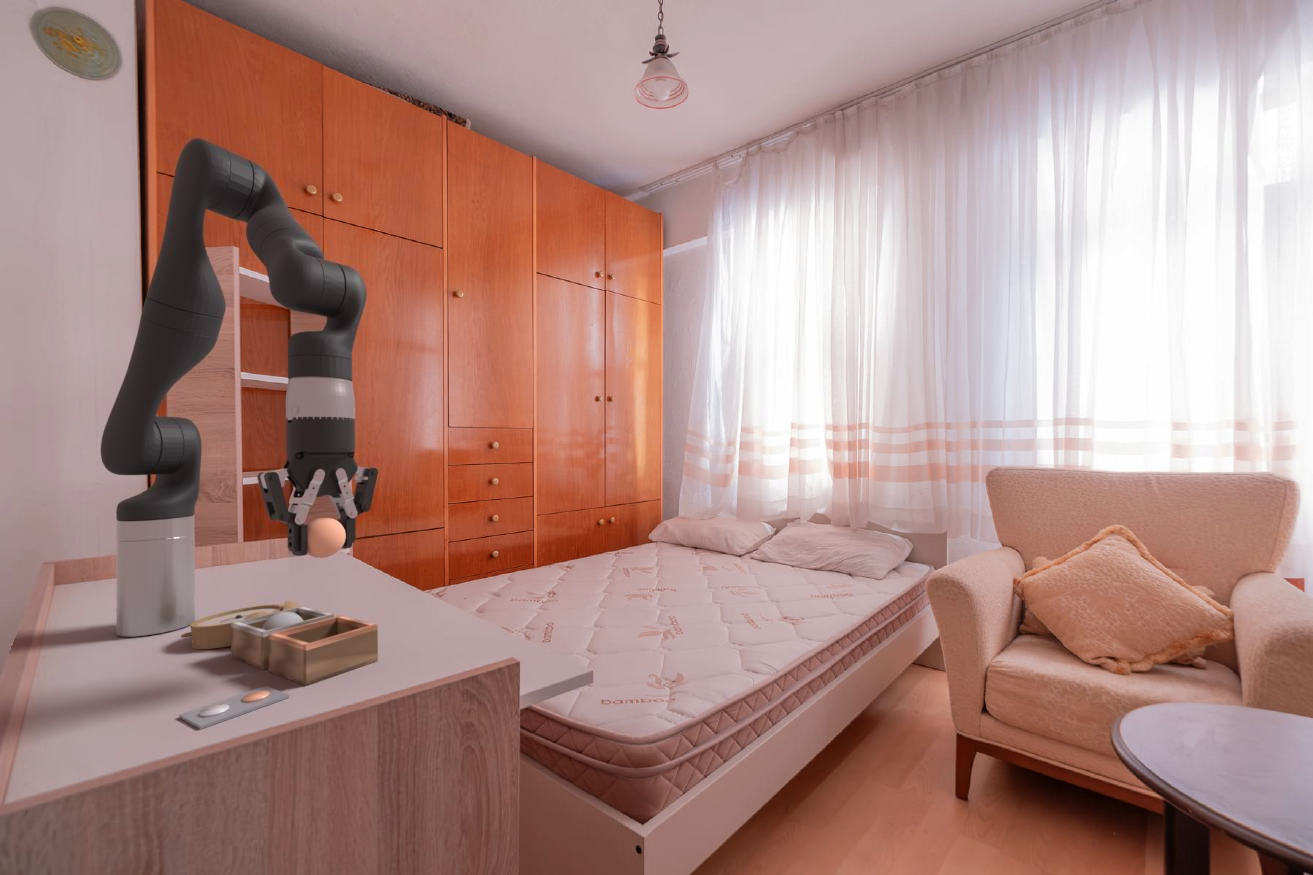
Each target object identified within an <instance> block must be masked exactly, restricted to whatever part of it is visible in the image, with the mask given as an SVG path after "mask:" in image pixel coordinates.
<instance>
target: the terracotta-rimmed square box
mask: <svg viewBox="0 0 1313 875" xmlns="http://www.w3.org/2000/svg"><path fill="white" fill-rule="evenodd" d="M378 632H379V630H378V624H377V623H372V622H368V621H363V620H360V619H356V618H352V617H346V616H342V615H336V616H334V617H332V618H328V619H324V620H321V621H317V622H313V623H309V624H305V625H301V626H297V627H294V628H290V629H286V630H282V631H278V632H274V633H271V634H269V668H268V672H269V673H272V674H274V675H277V676H279V677H282V678H285V679H288V680H290V681H293V682H295V683H298V684H301V685H303V686H305V687H307V686H310V685H312V684H315V683H319V682H322V681H324V680H327V679H330V678H332V677H336V676H338V675H339V676H340V675H341V674H344V673H347V672H350V671H353V670H356V669H358V668H361V666H362V667H364V666H367V665H371V664H373V663H375V662H374V661H376V662H378V661H379V654H378V652H379V648H378V647H379V645H378V642H379V641H378Z"/></svg>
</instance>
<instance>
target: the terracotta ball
mask: <svg viewBox="0 0 1313 875" xmlns="http://www.w3.org/2000/svg"><path fill="white" fill-rule="evenodd" d="M306 525H307V554H306V555H309V556H311V557H312V558H313V557H314V558H317V559H319V558H320V559H322V558H323V559H324V558H328V557H331V556H334V555H335V554H336V553H338V552H339V551H340V550H341V549H343V548H342V546H343V545H344V542H345V539H346V533H345V529H344V527H343V526H342V525H341V523H339V522H338V521H337V520H336V519H334V518H332V517H326V516H325V517H317V518H315V519H313V520H311V521H309V522H308V523H306Z"/></svg>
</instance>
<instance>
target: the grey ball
mask: <svg viewBox="0 0 1313 875" xmlns="http://www.w3.org/2000/svg"><path fill="white" fill-rule="evenodd" d="M301 621H303V619H302V618H301V617H300V616H299V615H297V614H295V613H292V612H281V613H278V614H275V615H273V616H272V617H270V618H269V619H268V620H267V621H266V622H265V624H264V625H263V627H262V629H264V630H270V629H274V628H278V627H282V626H285V625H289V624H293V623H297V622H301Z"/></svg>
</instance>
